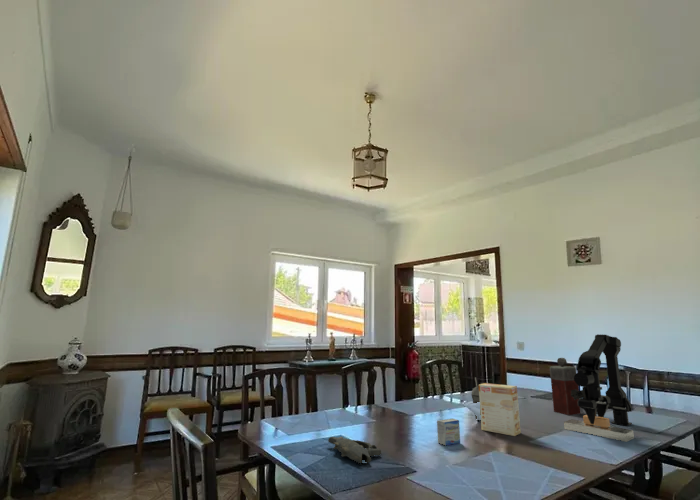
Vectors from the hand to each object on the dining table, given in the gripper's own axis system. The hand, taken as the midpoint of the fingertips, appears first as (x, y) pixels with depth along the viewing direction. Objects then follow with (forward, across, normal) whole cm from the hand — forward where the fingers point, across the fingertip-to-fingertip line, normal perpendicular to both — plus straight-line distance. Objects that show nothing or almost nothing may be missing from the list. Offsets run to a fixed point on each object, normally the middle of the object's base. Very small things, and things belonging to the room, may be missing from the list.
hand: (596, 422), depth 167 cm
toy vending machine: (+5, -31, -26) cm, 41 cm away
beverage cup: (+5, +19, -45) cm, 49 cm away
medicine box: (+5, +61, -30) cm, 68 cm away
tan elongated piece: (+5, +98, -43) cm, 107 cm away
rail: (+4, 0, 0) cm, 4 cm away
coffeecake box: (+5, +30, -27) cm, 41 cm away
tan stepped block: (+4, 0, 0) cm, 5 cm away
